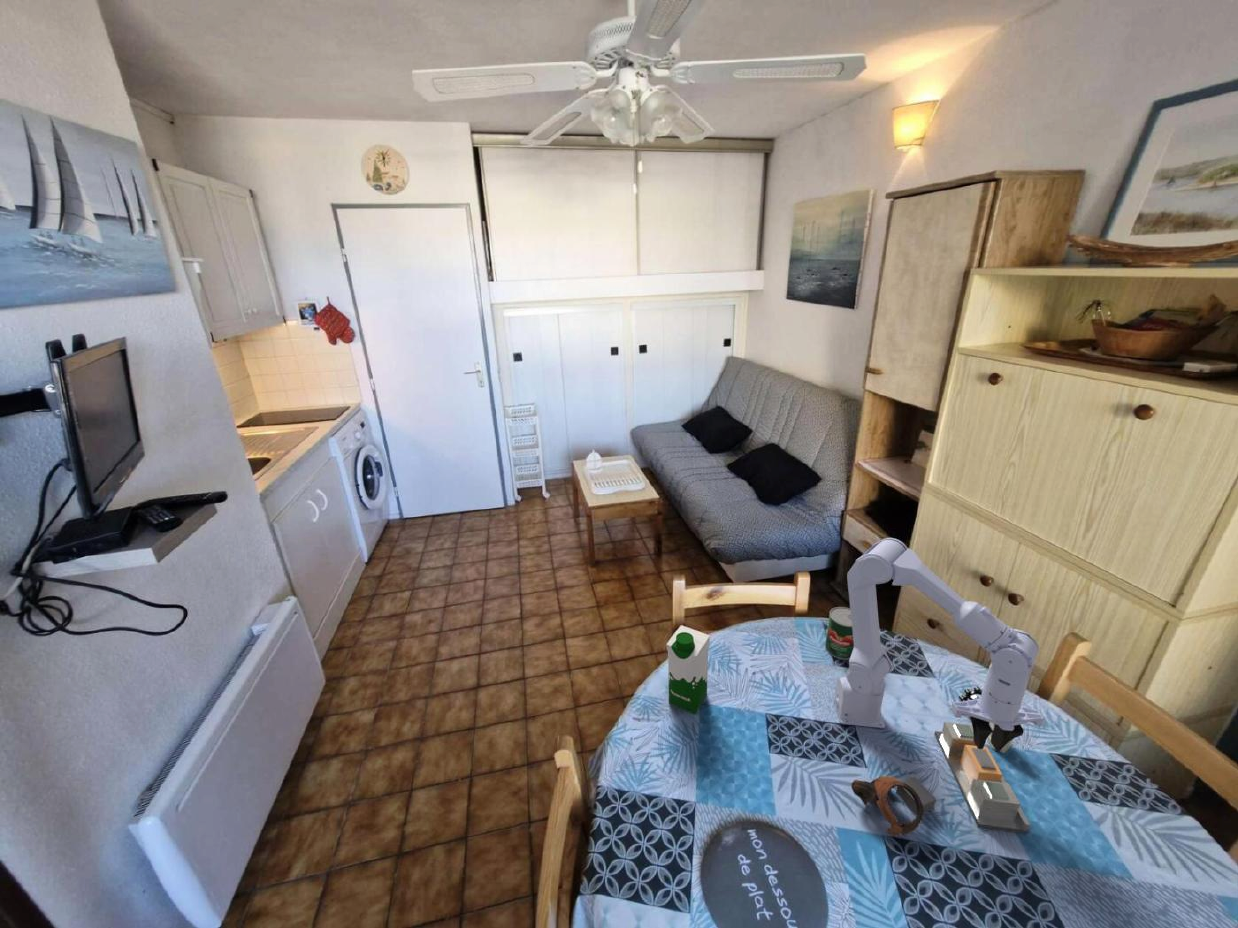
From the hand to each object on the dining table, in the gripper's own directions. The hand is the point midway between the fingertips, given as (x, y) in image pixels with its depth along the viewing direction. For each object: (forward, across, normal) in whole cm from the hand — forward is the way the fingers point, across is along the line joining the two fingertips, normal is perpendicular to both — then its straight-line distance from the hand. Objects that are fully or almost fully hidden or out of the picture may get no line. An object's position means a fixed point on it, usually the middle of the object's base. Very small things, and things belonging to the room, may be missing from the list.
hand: (986, 745), depth 98 cm
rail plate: (+9, 0, 0) cm, 9 cm away
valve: (+10, +8, +13) cm, 18 cm away
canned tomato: (+10, -18, +35) cm, 41 cm away
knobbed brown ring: (+10, -20, -9) cm, 24 cm away
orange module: (+8, 0, 0) cm, 8 cm away
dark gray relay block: (+10, -14, -6) cm, 18 cm away
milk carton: (+10, -58, +13) cm, 60 cm away
